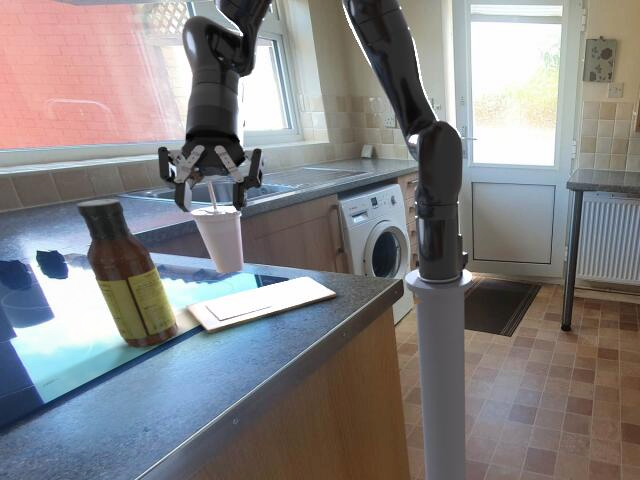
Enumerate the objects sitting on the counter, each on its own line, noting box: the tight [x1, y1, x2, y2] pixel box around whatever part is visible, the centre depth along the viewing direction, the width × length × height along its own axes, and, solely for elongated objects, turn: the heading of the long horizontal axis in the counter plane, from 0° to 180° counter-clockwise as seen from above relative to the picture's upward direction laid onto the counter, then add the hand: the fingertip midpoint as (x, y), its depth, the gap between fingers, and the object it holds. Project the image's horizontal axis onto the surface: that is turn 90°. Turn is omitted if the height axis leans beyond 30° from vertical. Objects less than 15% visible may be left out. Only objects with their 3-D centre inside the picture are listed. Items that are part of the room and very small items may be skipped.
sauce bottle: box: [76, 198, 179, 348], centre depth 55 cm, size 7×6×20 cm
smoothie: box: [190, 180, 245, 275], centre depth 63 cm, size 6×6×14 cm
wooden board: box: [185, 276, 338, 334], centre depth 71 cm, size 20×12×1 cm, turn 139°
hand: (211, 208), depth 61 cm, fingers closed on smoothie, 6 cm apart
